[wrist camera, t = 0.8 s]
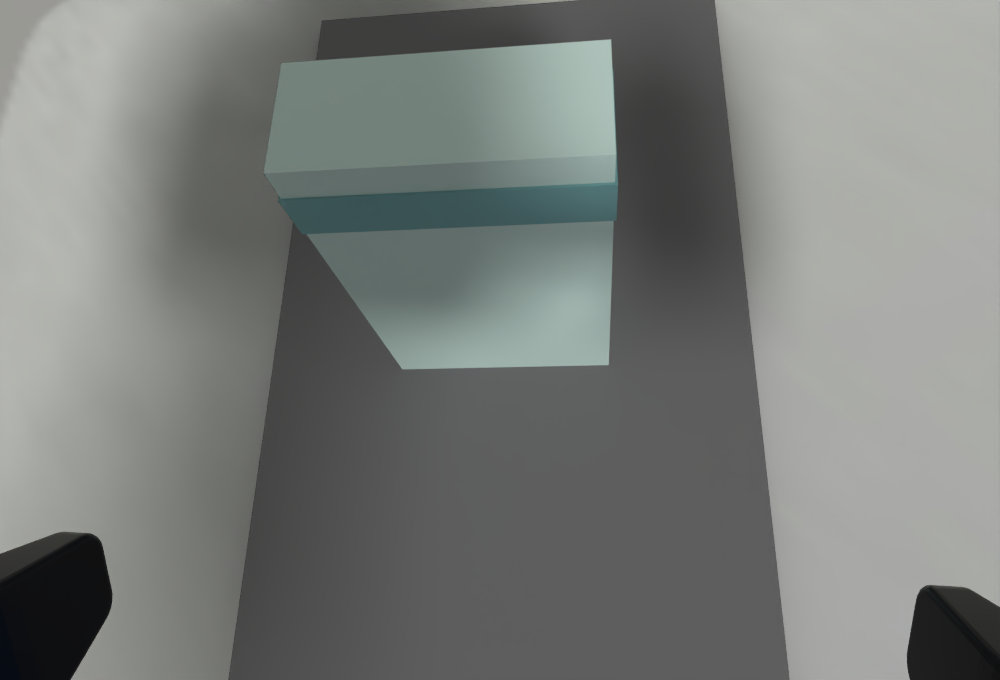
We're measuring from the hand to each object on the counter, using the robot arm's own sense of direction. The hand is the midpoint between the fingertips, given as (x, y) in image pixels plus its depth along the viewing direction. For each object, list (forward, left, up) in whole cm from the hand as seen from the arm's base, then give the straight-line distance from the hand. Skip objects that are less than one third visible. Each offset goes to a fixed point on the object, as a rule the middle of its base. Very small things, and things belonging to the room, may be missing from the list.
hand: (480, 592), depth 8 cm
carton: (+7, +5, -12) cm, 14 cm away
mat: (+7, +5, -12) cm, 15 cm away
